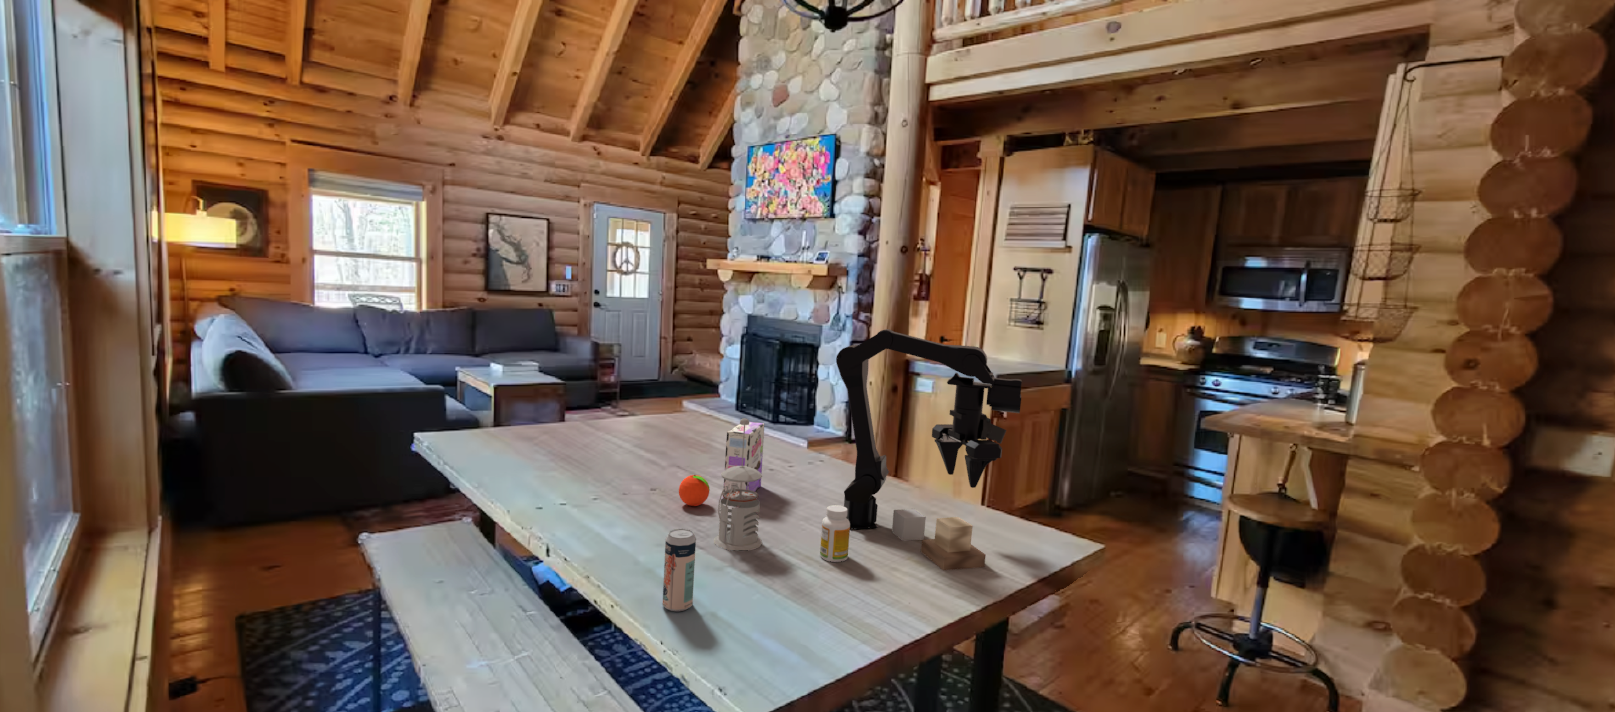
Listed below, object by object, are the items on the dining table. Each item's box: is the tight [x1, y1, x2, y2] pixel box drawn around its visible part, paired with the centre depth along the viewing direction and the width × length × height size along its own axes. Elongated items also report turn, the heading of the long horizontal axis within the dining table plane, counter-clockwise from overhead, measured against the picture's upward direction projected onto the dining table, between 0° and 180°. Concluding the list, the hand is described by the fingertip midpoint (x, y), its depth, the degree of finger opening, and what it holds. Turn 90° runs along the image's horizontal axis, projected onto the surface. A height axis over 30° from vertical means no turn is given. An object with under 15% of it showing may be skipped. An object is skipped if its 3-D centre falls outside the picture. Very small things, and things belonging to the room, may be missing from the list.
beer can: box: [662, 528, 697, 613], centre depth 110 cm, size 5×5×12 cm
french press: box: [713, 418, 763, 551], centre depth 136 cm, size 10×12×25 cm
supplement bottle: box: [819, 504, 851, 563], centre depth 133 cm, size 5×5×10 cm
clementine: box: [678, 474, 711, 507], centre depth 157 cm, size 8×7×7 cm
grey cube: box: [891, 508, 927, 542], centre depth 148 cm, size 5×5×5 cm
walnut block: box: [920, 538, 986, 571], centre depth 137 cm, size 9×9×3 cm
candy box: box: [722, 421, 765, 499], centre depth 169 cm, size 14×6×16 cm, turn 168°
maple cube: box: [934, 516, 974, 553], centre depth 136 cm, size 5×5×5 cm
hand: (961, 480), depth 146 cm, fingers open, 9 cm apart
